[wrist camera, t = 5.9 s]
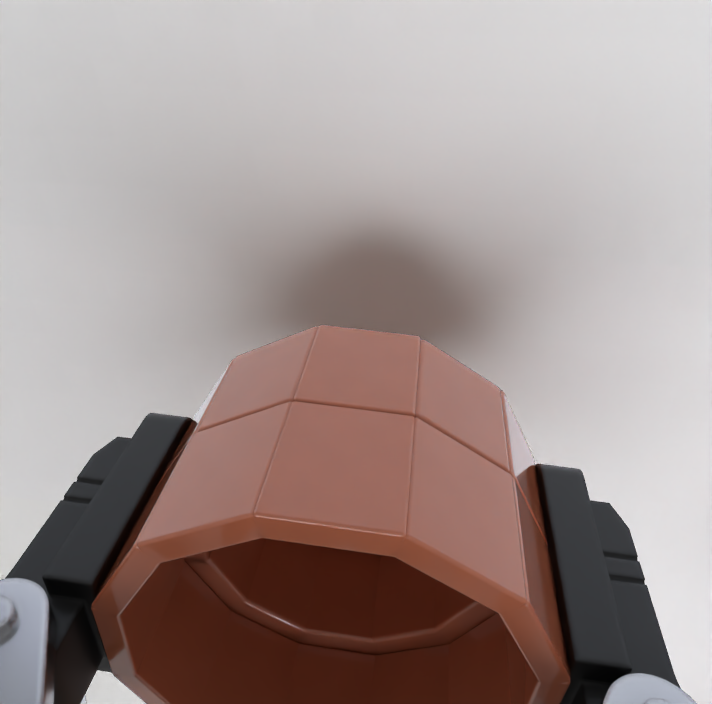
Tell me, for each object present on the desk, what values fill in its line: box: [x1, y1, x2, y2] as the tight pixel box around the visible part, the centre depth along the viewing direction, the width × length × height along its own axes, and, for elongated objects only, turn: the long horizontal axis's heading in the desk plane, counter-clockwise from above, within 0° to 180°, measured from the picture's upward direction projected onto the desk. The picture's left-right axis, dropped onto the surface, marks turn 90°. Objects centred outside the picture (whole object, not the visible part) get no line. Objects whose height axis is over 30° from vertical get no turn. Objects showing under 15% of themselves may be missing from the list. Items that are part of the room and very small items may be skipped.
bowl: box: [91, 325, 571, 704], centre depth 10 cm, size 6×6×4 cm
